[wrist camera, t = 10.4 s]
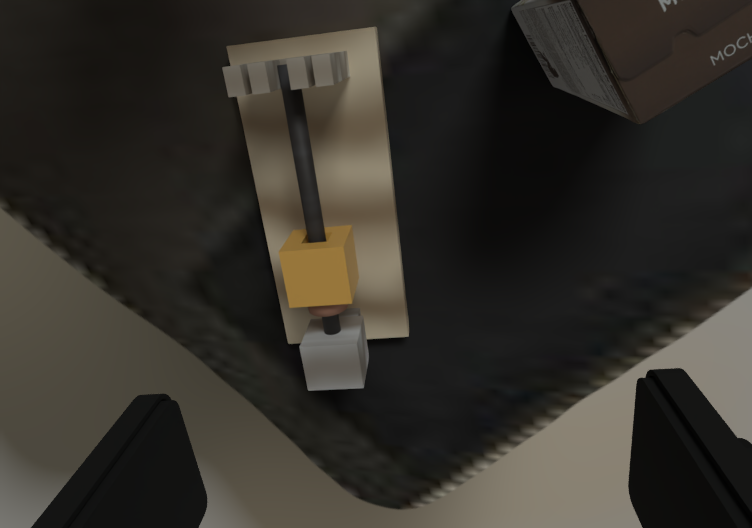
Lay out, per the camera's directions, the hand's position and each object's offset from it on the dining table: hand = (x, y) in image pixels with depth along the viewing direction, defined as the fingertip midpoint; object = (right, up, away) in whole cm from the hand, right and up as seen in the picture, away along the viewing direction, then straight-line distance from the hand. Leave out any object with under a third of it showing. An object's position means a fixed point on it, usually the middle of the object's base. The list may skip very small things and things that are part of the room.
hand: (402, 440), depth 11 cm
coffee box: (+13, +20, +24) cm, 34 cm away
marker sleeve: (-4, +4, +27) cm, 28 cm away
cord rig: (-4, +9, +30) cm, 31 cm away
